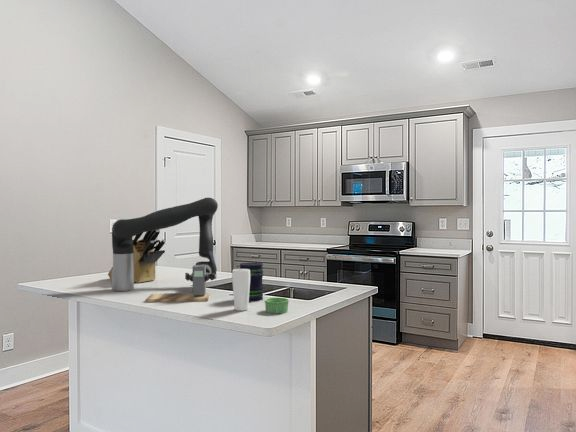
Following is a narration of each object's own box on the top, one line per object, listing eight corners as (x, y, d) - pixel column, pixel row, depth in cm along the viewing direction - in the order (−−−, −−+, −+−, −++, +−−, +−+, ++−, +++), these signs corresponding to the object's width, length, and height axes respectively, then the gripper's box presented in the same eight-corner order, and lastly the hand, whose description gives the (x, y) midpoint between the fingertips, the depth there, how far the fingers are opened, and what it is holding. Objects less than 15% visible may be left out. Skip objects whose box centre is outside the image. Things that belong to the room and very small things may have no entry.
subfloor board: (145, 302, 186) (145, 298, 186) (151, 296, 198) (151, 293, 198) (207, 301, 188) (207, 297, 188) (209, 295, 200) (209, 292, 200)
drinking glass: (236, 312, 167) (236, 271, 167) (229, 308, 173) (229, 269, 173) (253, 310, 170) (253, 270, 170) (246, 307, 176) (246, 268, 176)
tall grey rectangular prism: (192, 295, 191) (192, 266, 191) (194, 293, 196) (193, 265, 196) (204, 295, 191) (204, 266, 191) (205, 292, 196) (205, 265, 196)
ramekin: (259, 312, 167) (259, 300, 167) (273, 308, 175) (273, 296, 175) (280, 315, 162) (280, 303, 162) (293, 310, 170) (293, 298, 170)
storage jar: (254, 302, 185) (254, 265, 185) (234, 300, 190) (234, 264, 190) (267, 298, 194) (267, 263, 193) (248, 296, 198) (248, 262, 198)
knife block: (150, 285, 229) (150, 223, 229) (107, 279, 249) (106, 222, 248) (167, 282, 239) (167, 223, 238) (124, 277, 258) (124, 222, 258)
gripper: (186, 265, 207) (181, 270, 190) (218, 264, 208) (215, 269, 191) (186, 281, 207) (181, 288, 190) (218, 281, 209) (216, 287, 192)
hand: (198, 278), depth 191 cm, fingers closed on tall grey rectangular prism, 5 cm apart
